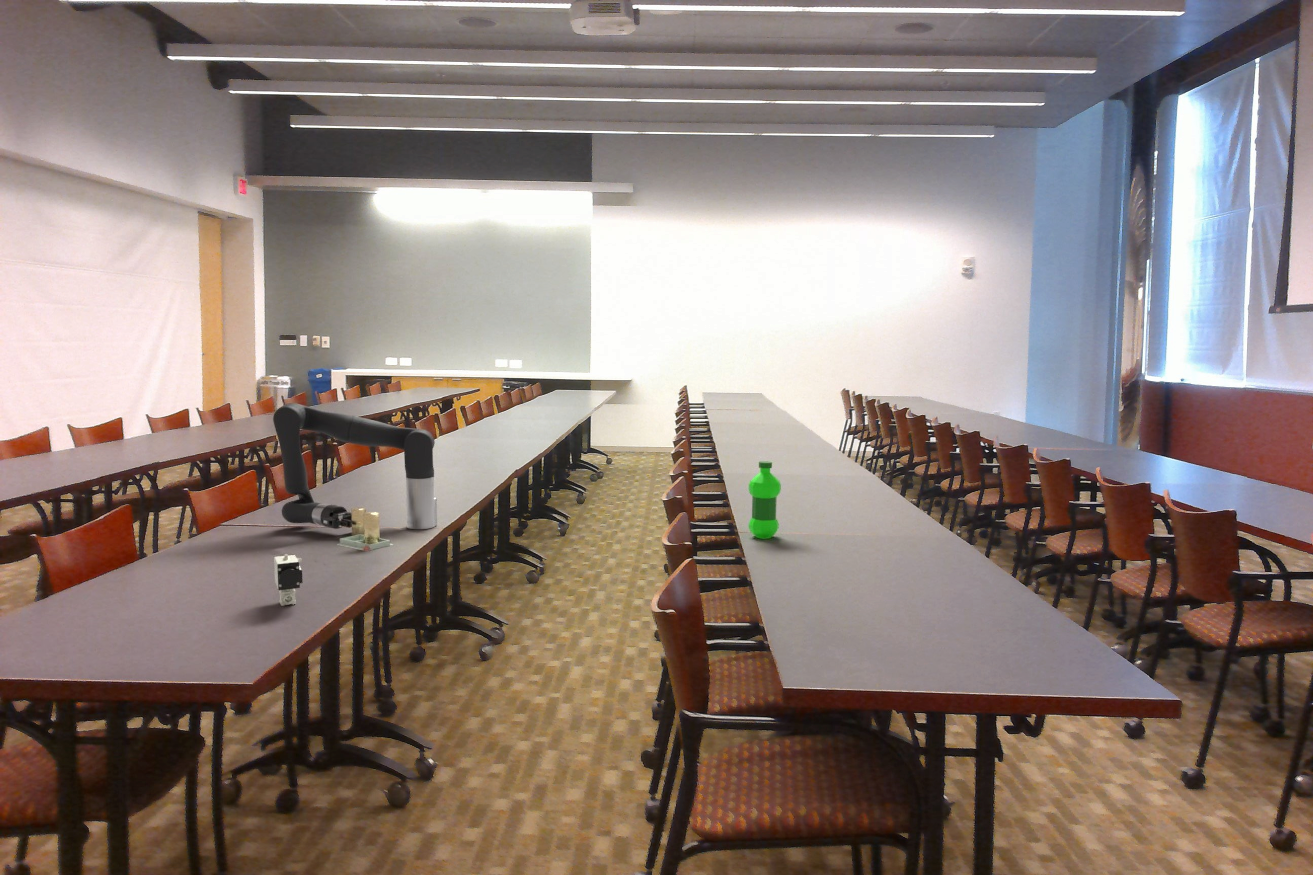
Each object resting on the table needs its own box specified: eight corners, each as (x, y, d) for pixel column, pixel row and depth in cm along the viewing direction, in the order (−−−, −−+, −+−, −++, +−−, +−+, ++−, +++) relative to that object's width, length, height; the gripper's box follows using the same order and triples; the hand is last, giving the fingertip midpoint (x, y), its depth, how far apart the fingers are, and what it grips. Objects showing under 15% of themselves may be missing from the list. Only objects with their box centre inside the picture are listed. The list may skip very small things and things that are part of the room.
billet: (360, 537, 275) (359, 507, 274) (369, 539, 272) (369, 508, 271) (348, 540, 271) (348, 509, 270) (358, 542, 269) (357, 510, 268)
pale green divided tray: (363, 542, 268) (363, 533, 267) (393, 549, 260) (393, 539, 260) (336, 549, 259) (336, 539, 259) (366, 555, 252) (366, 545, 252)
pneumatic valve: (279, 611, 199) (277, 561, 198) (274, 598, 210) (272, 550, 208) (305, 608, 202) (303, 558, 201) (299, 595, 212) (297, 548, 211)
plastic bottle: (770, 532, 289) (772, 459, 287) (784, 539, 279) (786, 463, 277) (743, 534, 286) (744, 460, 284) (756, 541, 276) (758, 464, 274)
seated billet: (373, 543, 261) (372, 511, 260) (383, 545, 259) (382, 512, 257) (360, 546, 257) (360, 513, 256) (370, 548, 255) (370, 515, 254)
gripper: (310, 507, 273) (342, 513, 264) (347, 501, 285) (380, 506, 276) (310, 530, 273) (343, 537, 265) (348, 523, 285) (380, 529, 277)
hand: (362, 521), depth 270 cm, fingers open, 8 cm apart
